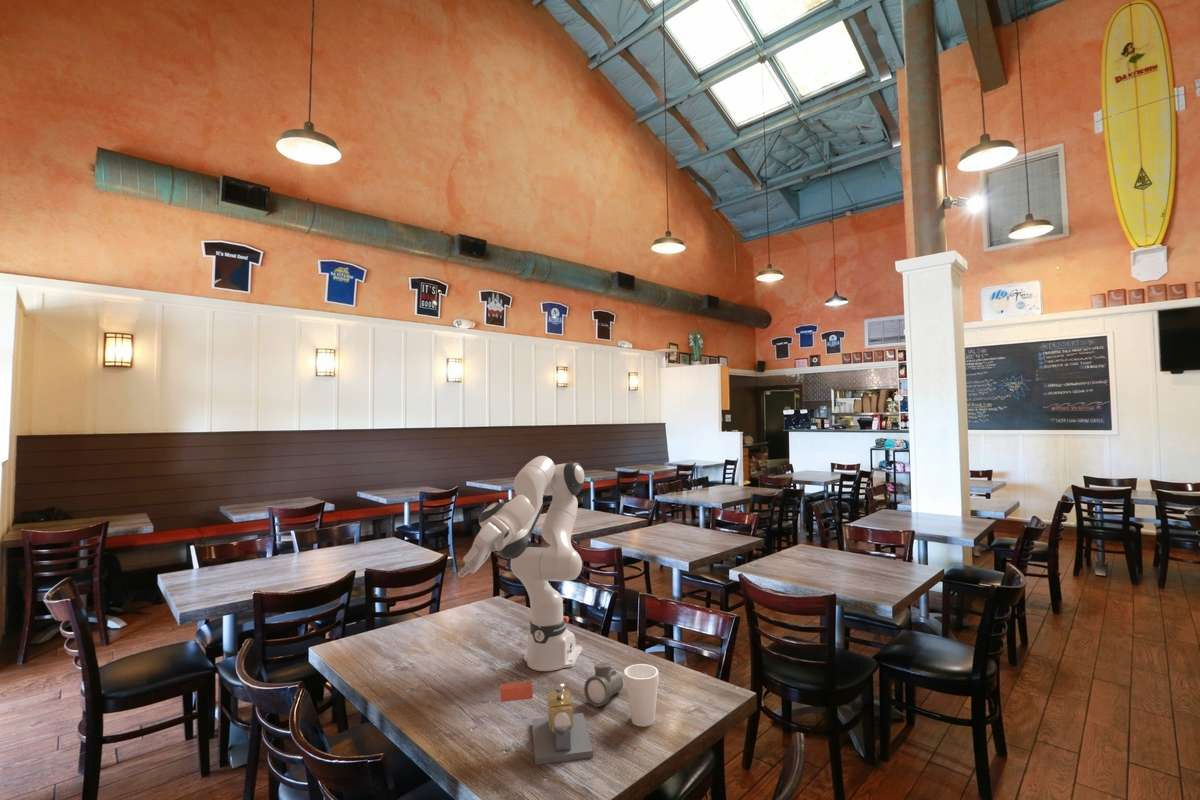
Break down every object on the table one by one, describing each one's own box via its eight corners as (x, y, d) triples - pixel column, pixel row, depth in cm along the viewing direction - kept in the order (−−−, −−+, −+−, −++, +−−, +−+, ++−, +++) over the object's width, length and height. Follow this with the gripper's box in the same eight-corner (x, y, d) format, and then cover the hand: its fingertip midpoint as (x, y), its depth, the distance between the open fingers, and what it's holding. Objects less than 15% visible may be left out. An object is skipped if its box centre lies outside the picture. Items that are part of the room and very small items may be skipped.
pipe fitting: (606, 710, 152) (605, 670, 154) (583, 705, 157) (582, 667, 159) (628, 697, 162) (627, 660, 164) (606, 692, 166) (605, 657, 168)
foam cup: (632, 732, 141) (630, 681, 142) (621, 714, 150) (619, 667, 151) (665, 725, 144) (663, 675, 145) (652, 708, 153) (651, 661, 154)
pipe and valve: (568, 716, 147) (567, 674, 148) (575, 750, 132) (574, 703, 132) (547, 719, 146) (546, 677, 147) (551, 753, 131) (550, 706, 131)
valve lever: (564, 689, 141) (564, 677, 141) (565, 694, 138) (565, 682, 139) (500, 696, 139) (500, 684, 139) (500, 702, 136) (500, 689, 136)
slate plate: (583, 718, 149) (583, 712, 149) (592, 757, 131) (592, 750, 131) (532, 724, 147) (532, 718, 147) (535, 764, 129) (534, 758, 129)
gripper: (480, 544, 167) (448, 576, 158) (493, 512, 153) (459, 544, 144) (495, 557, 166) (464, 590, 157) (510, 526, 152) (477, 560, 143)
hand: (462, 568), depth 150 cm, fingers open, 8 cm apart
